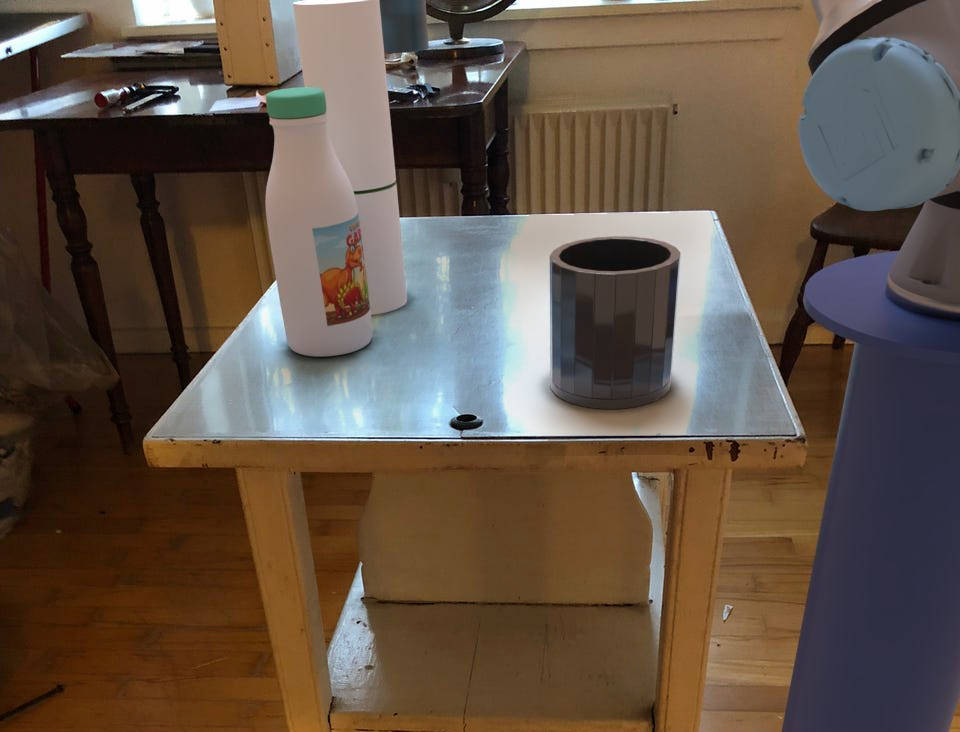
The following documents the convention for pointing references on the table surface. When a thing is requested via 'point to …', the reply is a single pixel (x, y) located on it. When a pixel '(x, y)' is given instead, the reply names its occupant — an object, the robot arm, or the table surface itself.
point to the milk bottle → (314, 231)
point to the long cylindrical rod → (404, 25)
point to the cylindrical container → (358, 128)
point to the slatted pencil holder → (613, 320)
